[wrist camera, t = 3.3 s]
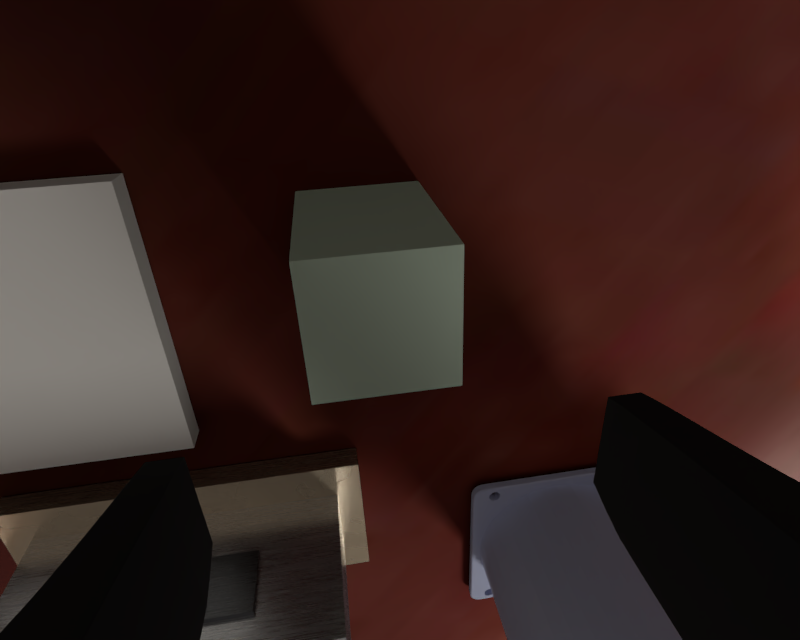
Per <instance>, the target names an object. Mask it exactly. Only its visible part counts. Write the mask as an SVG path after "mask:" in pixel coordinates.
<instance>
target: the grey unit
mask: <svg viewBox="0 0 800 640" xmlns="http://www.w3.org/2000/svg"><path fill="white" fill-rule="evenodd" d="M189 473H190V476H191V479H192V482H193V485H194V488H195V491H196V494H197V497H198V500H199V503H200V506H201V509H202V512H203V515H204V518H205V521H206V524H207V527H208V530H209V533H210V536H211V539H212V542H213V546H212V558H211V570H210V581H209V590H208V600H207V608H206V613H205V618H204V623H203V628H202V633H201V637H200V640H351V632H350V618H349V603H348V589H347V575H346V565H349V564H355V563H361V562H367V561H369V556H368V547H367V538H366V529H365V520H364V512H363V503H362V494H361V486H360V477H359V468H358V459H357V451H356V448H351V449H344V450H337V451H330V452H323V453H316V454H308V455H301V456H294V457H287V458H280V459H273V460H266V461H258V462H251V463H244V464H237V465H230V466H223V467H215V468H208V469H201V470H194V471H189ZM130 480H131V479H129V480H122V481H115V482H108V483H101V484H94V485H86V486H79V487H72V488H65V489H58V490H51V491H43V492H36V493H29V494H22V495H15V496H8V497H2V498H1V499H0V538H1V539H2V541H3V542H4V544H5V546H6V547H7V549H8V551H9V552H10V554H11V556H12V557H13V559H14V560H15V562H16V564H17V565H18V566H17V568H16V570H15V572H14V574H13V575H12V577H11V579H10V581H9V583H8V585H7V586H6V588H5V590H4V592H3V594H2V596H1V597H0V633H1V631H2V630H3V629H4V628H5V627H6V626H7V625H8V624H9V623H10V622H11V620H12V619H13V618H14V617H15V616H16V615H17V614H18V613H19V612H20V611H21V609H22V608H23V607H24V606H25V605H26V604H27V603H28V602H29V601H30V599H31V598H32V597H33V596H34V595H35V594H36V593H37V591H38V590H39V589H40V588H41V587H42V586H43V584H44V583H45V582H46V581H47V580H48V578H49V577H50V576H51V575H52V574H53V573H54V571H55V570H56V569H57V568H58V567H59V566H60V564H61V563H62V562H63V561H64V560H65V558H66V557H67V556H68V555H69V554H70V553H71V551H72V550H73V549H74V548H75V547H76V545H77V544H78V543H79V542H80V541H81V539H82V538H83V537H84V536H85V535H86V533H87V532H88V531H89V530H90V528H91V527H92V526H93V525H94V524H95V522H96V521H97V520H98V519H99V518H100V516H101V515H102V514H103V513H104V511H105V510H106V509H107V508H108V506H109V505H110V504H111V503H112V502H113V500H114V499H115V498H116V497H117V495H118V494H119V493H120V492H121V490H122V489H123V488H124V487H125V486H126V484H127V483H128V482H129V481H130Z"/></svg>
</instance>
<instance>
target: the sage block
mask: <svg viewBox="0 0 800 640" xmlns="http://www.w3.org/2000/svg"><path fill="white" fill-rule="evenodd" d="M289 266H290V272H291V278H292V284H293V291H294V297H295V303H296V309H297V316H298V322H299V328H300V334H301V341H302V347H303V353H304V359H305V366H306V372H307V378H308V384H309V391H310V397H311V403H312V405H315V404H323V403H331V402H338V401H346V400H354V399H362V398H369V397H377V396H385V395H393V394H401V393H408V392H416V391H424V390H432V389H439V388H447V387H455V386H462V378H463V301H464V243H463V242H462V241H461V239H460V238H459V236H458V235H457V234H456V232H455V231H454V230H453V228H452V227H451V225H450V224H449V223H448V221H447V220H446V219H445V217H444V216H443V214H442V213H441V212H440V210H439V209H438V208H437V206H436V205H435V203H434V202H433V201H432V199H431V198H430V197H429V195H428V194H427V192H426V191H425V190H424V188H423V187H422V186H421V184H420V183H419V181H410V182H398V183H387V184H375V185H363V186H352V187H340V188H328V189H317V190H305V191H295V199H294V211H293V222H292V233H291V244H290V255H289Z"/></svg>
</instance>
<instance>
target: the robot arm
mask: <svg viewBox="0 0 800 640" xmlns="http://www.w3.org/2000/svg"><path fill="white" fill-rule="evenodd" d="M494 492H495V493H494ZM492 493H494V494H492ZM212 546H213V542H212V539H211V536H210V533H209V530H208V527H207V524H206V521H205V518H204V515H203V512H202V509H201V506H200V503H199V500H198V497H197V494H196V491H195V488H194V485H193V482H192V479H191V476H190V473H189V470H188V467H187V464H186V461H185V458H184V457H180V458H173V459H166V460H159V461H152V462H145V463H144V464H143V465H142V467H141V468H140V469H139V470H138V471H137V473H136V474H135V475H134V476H133V477H132V478H131V480H130V481H129V482H128V483H127V484H126V486H125V487H124V488H123V489H122V490H121V492H120V493H119V494H118V495H117V497H116V498H115V499H114V500H113V502H112V503H111V504H110V505H109V506H108V508H107V509H106V510H105V511H104V513H103V514H102V515H101V516H100V518H99V519H98V520H97V521H96V522H95V524H94V525H93V526H92V527H91V528H90V530H89V531H88V532H87V533H86V535H85V536H84V537H83V538H82V539H81V541H80V542H79V543H78V544H77V545H76V547H75V548H74V549H73V550H72V551H71V553H70V554H69V555H68V556H67V557H66V558H65V560H64V561H63V562H62V563H61V564H60V566H59V567H58V568H57V569H56V570H55V571H54V573H53V574H52V575H51V576H50V577H49V578H48V580H47V581H46V582H45V583H44V584H43V586H42V587H41V588H40V589H39V590H38V591H37V593H36V594H35V595H34V596H33V597H32V598H31V599H30V601H29V602H28V603H27V604H26V605H25V606H24V607H23V608H22V609H21V611H20V612H19V613H18V614H17V615H16V616H15V617H14V618H13V619H12V620H11V622H10V623H9V624H8V625H7V626H6V627H5V628H4V629H3V630H2V631H1V633H0V640H200V637H201V633H202V628H203V623H204V618H205V613H206V608H207V600H208V590H209V581H210V570H211V558H212ZM469 592H470V595H471V597H472V598H473V599H484V598H490V597H494V600H495V603H496V606H497V609H498V613H499V616H500V619H501V622H502V625H503V628H504V631H505V634H506V637H507V640H800V482H798V481H796V480H795V479H793V478H791V477H789V476H787V475H785V474H784V473H782V472H780V471H778V470H776V469H775V468H773V467H771V466H769V465H767V464H766V463H764V462H762V461H760V460H759V459H757V458H755V457H753V456H752V455H750V454H748V453H746V452H745V451H743V450H741V449H739V448H738V447H736V446H734V445H732V444H731V443H729V442H727V441H726V440H724V439H722V438H720V437H719V436H717V435H715V434H714V433H712V432H710V431H708V430H707V429H705V428H703V427H702V426H700V425H698V424H696V423H695V422H693V421H691V420H690V419H688V418H686V417H684V416H683V415H681V414H679V413H678V412H676V411H674V410H672V409H671V408H669V407H667V406H665V405H664V404H662V403H660V402H658V401H656V400H654V399H653V398H651V397H649V396H647V395H645V394H643V393H634V394H627V395H620V396H613V397H608V401H607V407H606V412H605V418H604V424H603V429H602V435H601V441H600V447H599V452H598V458H597V464H596V467H594V468H588V469H581V470H575V471H568V472H561V473H555V474H548V475H541V476H535V477H528V478H522V479H515V480H508V481H502V482H495V483H489V484H482V485H479V486H477V487H475V488H474V489H473V491H472V494H471V527H470V566H469Z"/></svg>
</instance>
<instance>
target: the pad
mask: <svg viewBox="0 0 800 640" xmlns="http://www.w3.org/2000/svg"><path fill="white" fill-rule="evenodd" d="M198 433H199V428H198V425H197V422H196V418H195V415H194V412H193V408H192V405H191V402H190V398H189V395H188V391H187V388H186V385H185V381H184V378H183V375H182V371H181V368H180V365H179V361H178V358H177V355H176V351H175V348H174V344H173V341H172V338H171V334H170V331H169V328H168V324H167V321H166V318H165V314H164V311H163V308H162V304H161V301H160V297H159V294H158V291H157V287H156V284H155V281H154V277H153V274H152V271H151V267H150V264H149V261H148V257H147V254H146V251H145V247H144V244H143V240H142V237H141V234H140V230H139V227H138V224H137V220H136V217H135V214H134V210H133V207H132V204H131V200H130V197H129V193H128V190H127V187H126V183H125V180H124V177H123V173H118V174H105V175H92V176H80V177H67V178H54V179H42V180H29V181H16V182H4V183H0V474H5V473H12V472H20V471H27V470H35V469H42V468H49V467H57V466H64V465H72V464H79V463H86V462H94V461H101V460H109V459H116V458H123V457H131V456H138V455H146V454H153V453H160V452H168V451H175V450H183V449H190V448H194V447H195V444H196V440H197V436H198Z"/></svg>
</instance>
